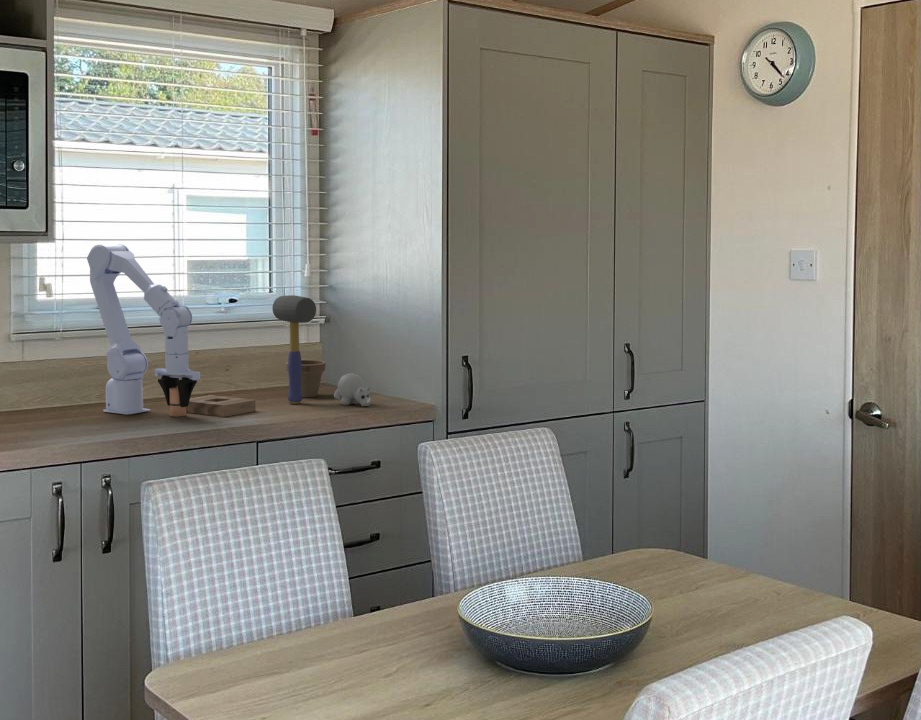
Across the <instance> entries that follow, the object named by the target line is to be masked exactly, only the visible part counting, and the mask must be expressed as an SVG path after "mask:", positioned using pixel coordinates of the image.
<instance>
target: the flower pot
mask: <svg viewBox="0 0 921 720" xmlns="http://www.w3.org/2000/svg"><path fill="white" fill-rule="evenodd" d="M301 362H302V372H301V392H302V398H305V399H306V398H314V397H317V396H318V394H319V390H320V385H321V381H322V376H323V372H324V371H326V363H327V362H325V361H323V360H317V359H301ZM285 369H286V372H288V361H286V363H285Z"/></svg>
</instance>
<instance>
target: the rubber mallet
mask: <svg viewBox="0 0 921 720" xmlns="http://www.w3.org/2000/svg"><path fill="white" fill-rule="evenodd" d="M271 307H272V308H271V309H272V313H273V315H274V316H275V318H276V319H278V320H279V321H283V322H288V323H289V352H288V360H287V362H288V371H287V373H288V374H287V375H288V394H287V400H288V402H289V404H291V405H298V404H301V401H302V400H303V397H302V392H301V372H302V362H301V360H302V356H301V351H300V327H299V324H300V323H301V324H303V323H304V324H305V323H309V322H311V321H313V319H314V318H315V316H316V314H317V305H316V303H315V302H314V300H313V299H311V298H309V297H306V296H301V295H280V296H278V297H277V298H275V300H274V301H273V304H272V306H271Z"/></svg>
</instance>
